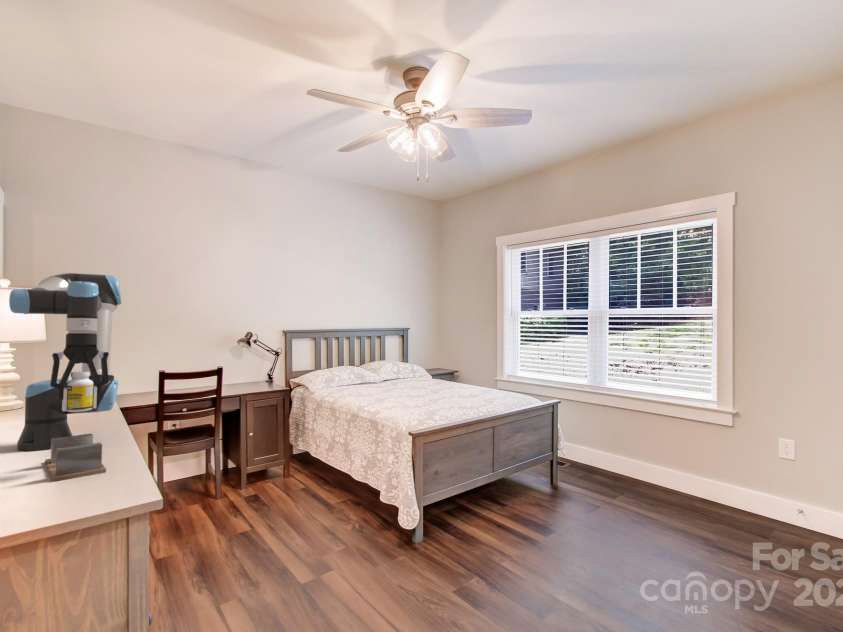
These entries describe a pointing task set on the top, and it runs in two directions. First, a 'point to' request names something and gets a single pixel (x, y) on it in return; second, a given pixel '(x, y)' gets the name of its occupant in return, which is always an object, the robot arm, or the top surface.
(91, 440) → the sliding jaw
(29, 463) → the top surface
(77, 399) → the pill bottle
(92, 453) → the vise bed
